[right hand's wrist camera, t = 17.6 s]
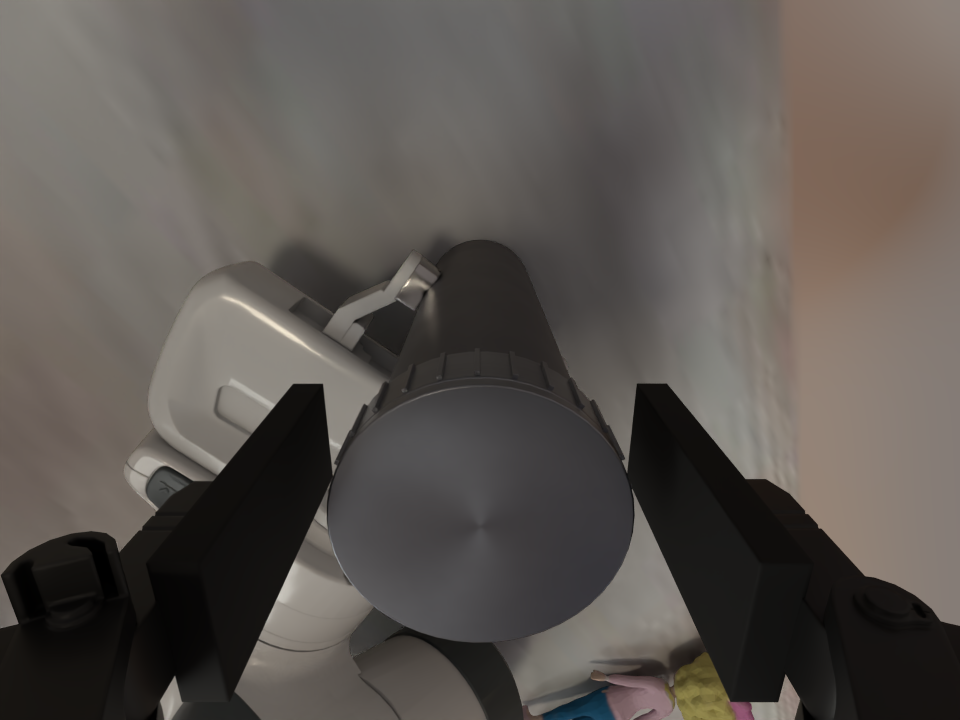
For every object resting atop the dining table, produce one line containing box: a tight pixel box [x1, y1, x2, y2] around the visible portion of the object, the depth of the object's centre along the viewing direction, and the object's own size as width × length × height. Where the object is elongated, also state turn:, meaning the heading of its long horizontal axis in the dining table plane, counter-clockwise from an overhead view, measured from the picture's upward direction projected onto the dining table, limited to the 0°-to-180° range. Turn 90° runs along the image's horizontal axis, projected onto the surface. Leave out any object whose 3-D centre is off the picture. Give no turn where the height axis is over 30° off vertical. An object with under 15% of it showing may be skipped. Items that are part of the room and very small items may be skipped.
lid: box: [327, 348, 635, 643], centre depth 11 cm, size 6×6×2 cm
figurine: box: [522, 652, 754, 720], centre depth 37 cm, size 6×4×15 cm
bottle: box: [388, 240, 570, 383], centre depth 20 cm, size 5×5×19 cm
